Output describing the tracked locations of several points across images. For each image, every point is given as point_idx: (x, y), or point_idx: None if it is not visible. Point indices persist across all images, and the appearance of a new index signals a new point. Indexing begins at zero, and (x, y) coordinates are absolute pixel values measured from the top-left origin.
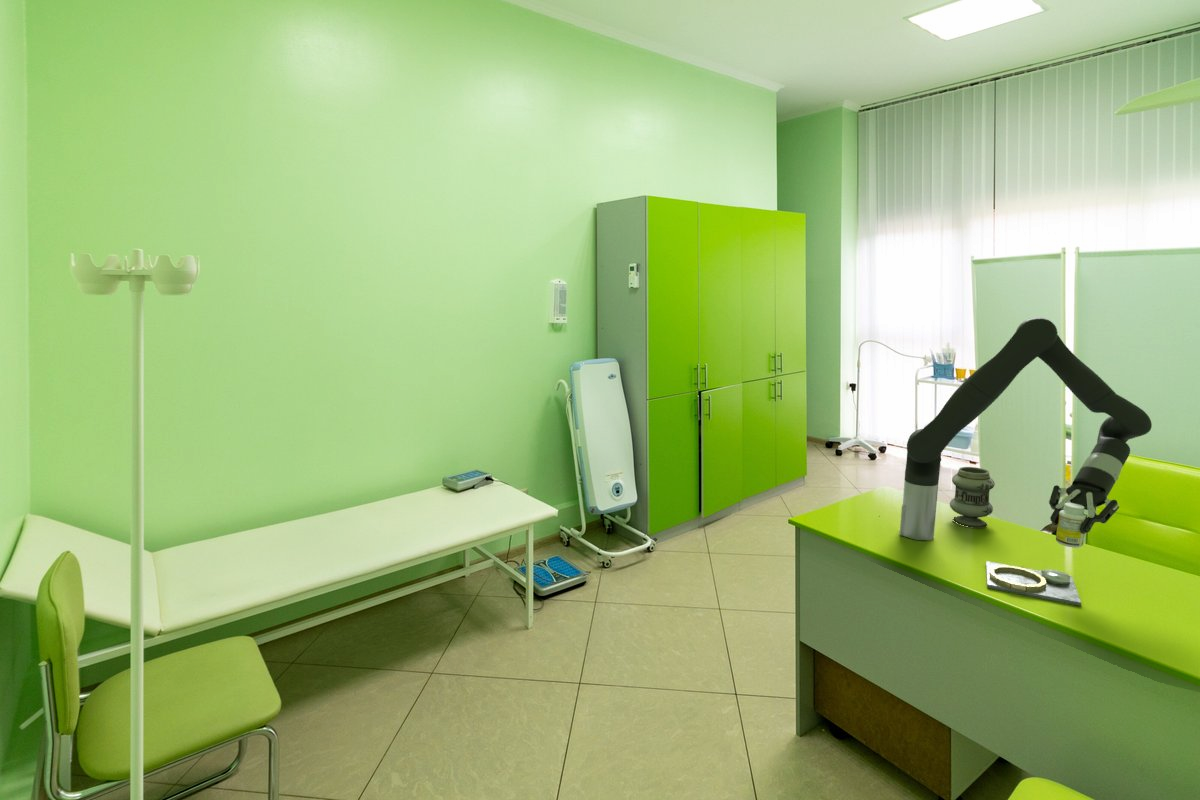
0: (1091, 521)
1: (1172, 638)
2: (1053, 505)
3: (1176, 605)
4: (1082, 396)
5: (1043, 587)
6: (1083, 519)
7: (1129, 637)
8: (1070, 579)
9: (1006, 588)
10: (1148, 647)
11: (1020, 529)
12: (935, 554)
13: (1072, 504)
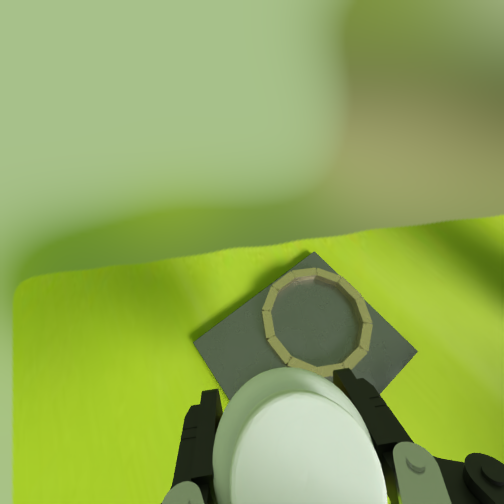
0: (177, 469)
1: (41, 377)
2: (459, 472)
3: None
4: None
5: (264, 329)
6: (215, 437)
7: (98, 304)
8: None
9: (292, 268)
10: (69, 298)
11: None
12: (474, 294)
13: (332, 491)
